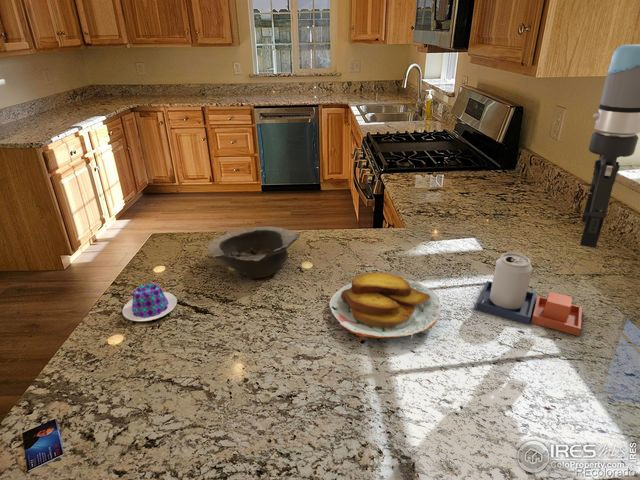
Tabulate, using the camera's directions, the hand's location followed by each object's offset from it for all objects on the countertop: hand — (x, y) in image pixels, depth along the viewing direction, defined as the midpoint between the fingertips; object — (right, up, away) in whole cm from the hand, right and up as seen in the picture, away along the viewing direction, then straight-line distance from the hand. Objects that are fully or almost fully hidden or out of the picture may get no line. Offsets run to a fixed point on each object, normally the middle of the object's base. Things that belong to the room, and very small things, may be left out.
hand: (588, 233), depth 91 cm
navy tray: (-13, -17, +9) cm, 23 cm away
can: (-13, -16, +9) cm, 23 cm away
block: (-5, -18, +4) cm, 20 cm away
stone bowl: (-76, -8, +28) cm, 81 cm away
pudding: (-97, -18, +9) cm, 99 cm away
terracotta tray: (-4, -19, +4) cm, 20 cm away
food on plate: (-42, -18, +7) cm, 47 cm away
